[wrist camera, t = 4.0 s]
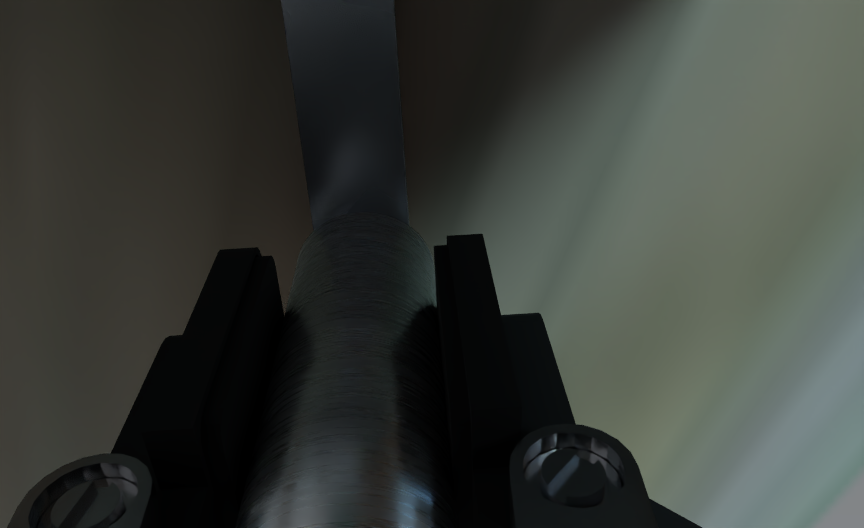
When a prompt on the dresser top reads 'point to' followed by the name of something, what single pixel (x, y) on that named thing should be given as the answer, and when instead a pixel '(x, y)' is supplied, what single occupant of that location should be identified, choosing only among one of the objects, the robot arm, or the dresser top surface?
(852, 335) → the dresser top surface
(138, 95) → the dresser top surface
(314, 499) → the gray frame with handle
